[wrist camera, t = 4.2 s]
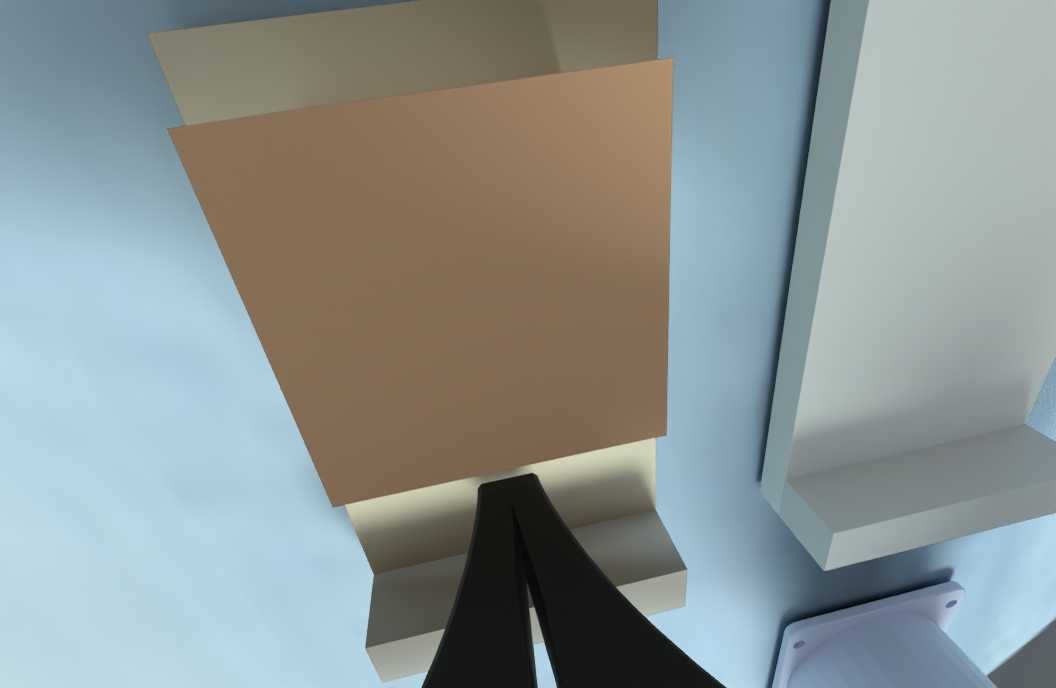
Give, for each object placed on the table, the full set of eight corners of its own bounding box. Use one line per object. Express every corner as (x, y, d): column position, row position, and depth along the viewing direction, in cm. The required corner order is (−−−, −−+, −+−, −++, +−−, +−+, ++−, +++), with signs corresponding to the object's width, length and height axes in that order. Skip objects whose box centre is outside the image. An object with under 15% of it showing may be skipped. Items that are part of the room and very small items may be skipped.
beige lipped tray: (642, 519, 16) (685, 605, 13) (390, 578, 15) (381, 683, 12) (635, -18, 9) (720, -61, 6) (176, 39, 8) (57, 15, 6)
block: (579, 306, 11) (666, 435, 7) (370, 346, 10) (333, 506, 6) (561, 71, 8) (674, 56, 5) (295, 108, 8) (166, 128, 4)
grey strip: (977, 441, 17) (1078, 506, 14) (759, 492, 16) (824, 571, 13) (1193, -87, 10) (1463, -149, 7) (837, -43, 9) (995, -94, 7)
